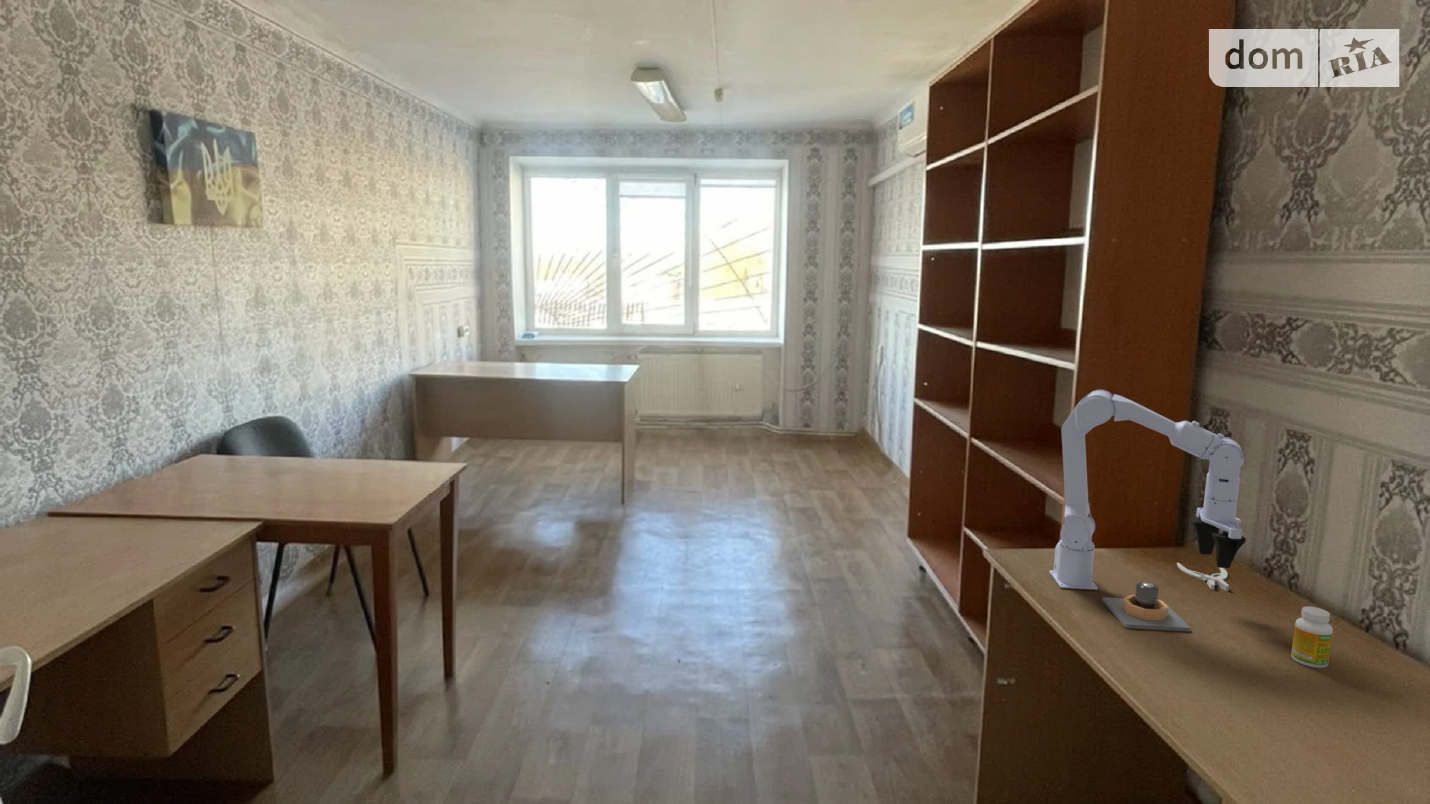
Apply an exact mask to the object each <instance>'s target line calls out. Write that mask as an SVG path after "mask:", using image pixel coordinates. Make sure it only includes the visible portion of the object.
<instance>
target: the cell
mask: <svg viewBox="0 0 1430 804" xmlns="http://www.w3.org/2000/svg"><path fill="white" fill-rule="evenodd" d="M1159 592H1160V587H1159V586H1158V585H1157V584H1155V583H1151V582H1145V581H1140V582H1137V583H1136V587H1135V594H1134V595H1135V604H1134V605H1136V606H1139V607H1142V608H1145V609H1157V601H1158V599H1159Z"/></svg>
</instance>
